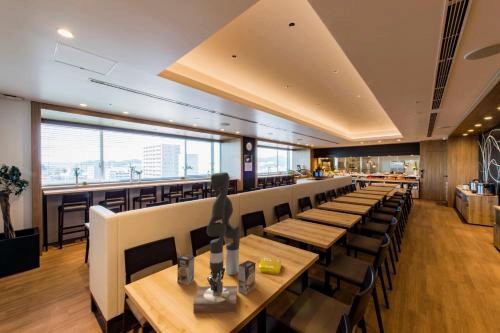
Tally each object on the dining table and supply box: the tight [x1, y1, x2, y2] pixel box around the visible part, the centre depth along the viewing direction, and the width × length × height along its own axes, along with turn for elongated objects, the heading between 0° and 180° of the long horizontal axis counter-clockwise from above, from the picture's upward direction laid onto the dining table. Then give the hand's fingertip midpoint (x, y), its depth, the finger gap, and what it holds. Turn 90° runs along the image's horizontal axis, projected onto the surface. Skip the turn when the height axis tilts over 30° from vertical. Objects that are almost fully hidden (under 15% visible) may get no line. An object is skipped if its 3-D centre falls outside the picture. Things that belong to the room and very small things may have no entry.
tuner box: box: [192, 285, 238, 314], centre depth 116 cm, size 15×22×6 cm
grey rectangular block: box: [210, 280, 227, 297], centre depth 115 cm, size 10×4×7 cm, turn 58°
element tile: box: [258, 257, 282, 275], centre depth 155 cm, size 15×15×5 cm
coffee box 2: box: [237, 259, 256, 296], centre depth 128 cm, size 9×6×16 cm
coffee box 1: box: [177, 253, 195, 285], centre depth 137 cm, size 9×6×16 cm
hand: (216, 290), depth 116 cm, fingers closed on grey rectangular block, 2 cm apart
